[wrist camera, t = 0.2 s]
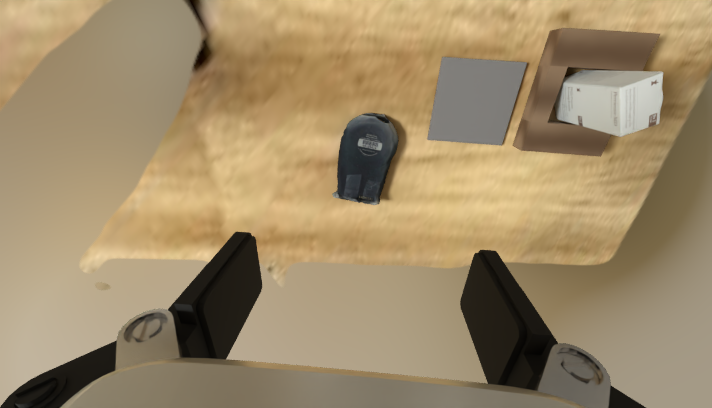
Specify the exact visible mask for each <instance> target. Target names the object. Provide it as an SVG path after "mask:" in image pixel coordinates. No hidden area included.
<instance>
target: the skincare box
mask: <svg viewBox="0 0 712 408" xmlns="http://www.w3.org/2000/svg"><path fill="white" fill-rule="evenodd" d="M662 82H663V72H661V71H656V72H655V71H654V72H650V71H607V70H582V71H580V72H577V73H574V74H572V75H569V76H567V77H564V79H563V82H562V84H561V87H560V90H559V93H558V95H557V98H556V101H555V103H554V104H555V113H556V118H557V119H558V120H561V121H565V122H569V123H572V124H576V125H579V126H583V127H587V128H590V129H594V130H597V131H601V132H605V133H608V134H612V135H616V136H619V137H622V136H625V135H627V134H630V133H633V132H636V131H639V130H642V129H645V128H648V127H651V126H654V125H657V124H659V122H660V109H661V106H662V102H663V92H662Z"/></svg>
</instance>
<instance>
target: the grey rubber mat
mask: <svg viewBox="0 0 712 408" xmlns="http://www.w3.org/2000/svg"><path fill="white" fill-rule="evenodd" d="M526 65H527V63H526V62H511V61H496V60H481V59H466V58H451V57H442V61H441V66H440V72H439V77H438V83H437V89H436V94H435V100H434V105H433V111H432V116H431V122H430V127H429V133H428V140H437V141H450V142H464V143H477V144H490V145H502V143H503V139H504V136H505V133H506V130H507V126H508V123H509V120H510V117H511V113H512V110H513V107H514V104H515V100H516V97H517V94H518V91H519V87H520V84H521V81H522V78H523V74H524V71H525V68H526Z"/></svg>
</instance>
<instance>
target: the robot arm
mask: <svg viewBox="0 0 712 408" xmlns="http://www.w3.org/2000/svg"><path fill="white" fill-rule="evenodd" d="M261 289H262V280H261V272H260V266H259V259H258V252H257V245H256V239H255V237H254V236H252V235H251V233H247V232H235V233H234V234H233V235H232V237H231V238H230V239H229V240H228V241H227V242H226V244H225V245H224V246H223V247H222V248H221V249H220V251H219V252H218V253H217V254H216V255H215V256H214V258H213V259H212V260H211V261H210V262H209V263H208V264H207V265H206V266H205V267H204V269H203V270H202V271H201V272H200V274H198V276H197V277H196V278H195V279H194V280H193V281H192V282H191V283H190V285H189V286H188V287H187V288H186V289H185V290H184V292H183V293H182V294H181V295H180V296H179V297H178V299H177V300H176V301H175V302H174V303H173V304H172V305H171V307H170V308H169V309H168V310H166V309H153V310H149V311H146V312H143V313H141V314H139V315H137V316H135V317H134V318H132V319H131V320H129V321H128V322H127V323H126V324H125V325H124V326H123V327H122V328H121V330H120V331H119V333H118V336H117V341H115V342H112V343H110V344H108V345H106V346H103V347H101V348H99V349H97V350H94V351H92V352H90V353H88V354H85V355H83V356H81V357H79V358H76V359H74V360H72V361H70V362H67V363H65V364H63V365H61V366H58V367H56V368H54V369H52V370H49V371H47V372H45V373H43V374H40V375H39V376H37V377H35V378H33V379H31V380H29V381H28V382H27V383H25V384H23V385H22V386H20V387H19V388H18V389H17V390H16V391H14V392H13V393H12V394H11V395H10V396H9V397H8V398H7V399H6V400H5V402H4V403H3V404H2V405H1V407H0V408H646V407H644V406H642V405H641V404H639V403H638V402H636V401H634V400H633V399H631V398H630V397H628V396H626V395H625V394H623V393H622V392H620V391H619V390H617V389H615V388H614V387H612V386H611V382H610V376H609V375H608V373H607V371H606V369H605V368H604V367H603V365H602V364H601V363H600V362H599V361H598V360H597V359H596V358H594V357H593V356H592V355H591V354H589V353H588V352H586V351H584V350H583V349H581V348H578V347H576V346H574V345H570V344H566V343H559V344H558V342H557V341H556V339H555V338H554V337H553V335H552V333H551V332H550V330H549V329H548V327H547V326H546V324H545V323H544V321H543V320H542V318H541V317H540V315H539V314H538V312H537V311H536V310H535V308H534V306H533V305H532V303H531V302H530V300H529V299H528V298H527V296H526V294H525V293H524V291H523V290H522V289H521V287H520V286H519V285H518V283H517V282H516V281H515V279H514V277H513V276H512V274H511V273H510V271H509V270H508V268H507V267H506V265H505V264H504V262H503V261H502V259H501V258H500V256H499V255H498V253H497V252H496V251H491V250H480V251H479V252H478V253H475V254H474V257H473V260H472V263H471V267H470V270H469V274H468V277H467V280H466V284H465V287H464V290H463V294H462V297H461V301H460V302H461V303H460V305H461V310H462V312H463V315H464V318H465V321H466V324H467V326H468V329H469V332H470V335H471V338H472V340H473V343H474V346H475V349H476V352H477V354H478V357H479V360H480V363H481V365H482V368H483V371H484V374H485V376H486V379H487V382H488V384H486V383H477V382H468V381H459V380H449V379H438V378H429V377H418V376H408V375H398V374H386V373H377V372H365V371H354V370H344V369H333V368H322V367H311V366H299V365H288V364H276V363H264V362H253V361H240V360H226V358H227V356H228V354H229V352H230V350H231V348H232V347H233V345H234V343H235V341H236V339H237V337H238V335H239V333H240V331H241V329H242V327H243V325H244V323H245V321H246V319H247V318H248V316H249V314H250V312H251V310H252V308H253V306H254V304H255V302H256V300H257V298H258V296H259V294H260V292H261Z"/></svg>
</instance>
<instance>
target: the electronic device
mask: <svg viewBox="0 0 712 408" xmlns="http://www.w3.org/2000/svg"><path fill="white" fill-rule="evenodd" d="M377 118H378V119H380V120H382V121H384V122H385V123H384V122H382V121H380V120H378V119H377ZM397 146H398V135H397V131H396V129H395V127H394V126H393V124H392V123H391V122H390V121H389V120H388V119H387V118H386V117H385V115H384V114H382V115H380V114H373V113H366V114H362V115H360V116H357V117H356V118H354V119H352V120H351V121H350V122H349V123H348V124H347V128H346V129H345V130H344V135H343V136H342V138H341V144H340V150H339V158H338V173H337V178H338V190H337V191H336V192H334V193H333V194H332V195H333V197H335V198H340V199H345V200H351V201H355V202H358V203H360V202H363V203H365V204H372V205H377V204H379V203H380V195H381V192H382V189H383V185H384V183H385V179H386V175H387V173H388V169H389V166H390V162H391V160H392V157H393V156H394V154H395V153H396V150H397Z"/></svg>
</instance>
